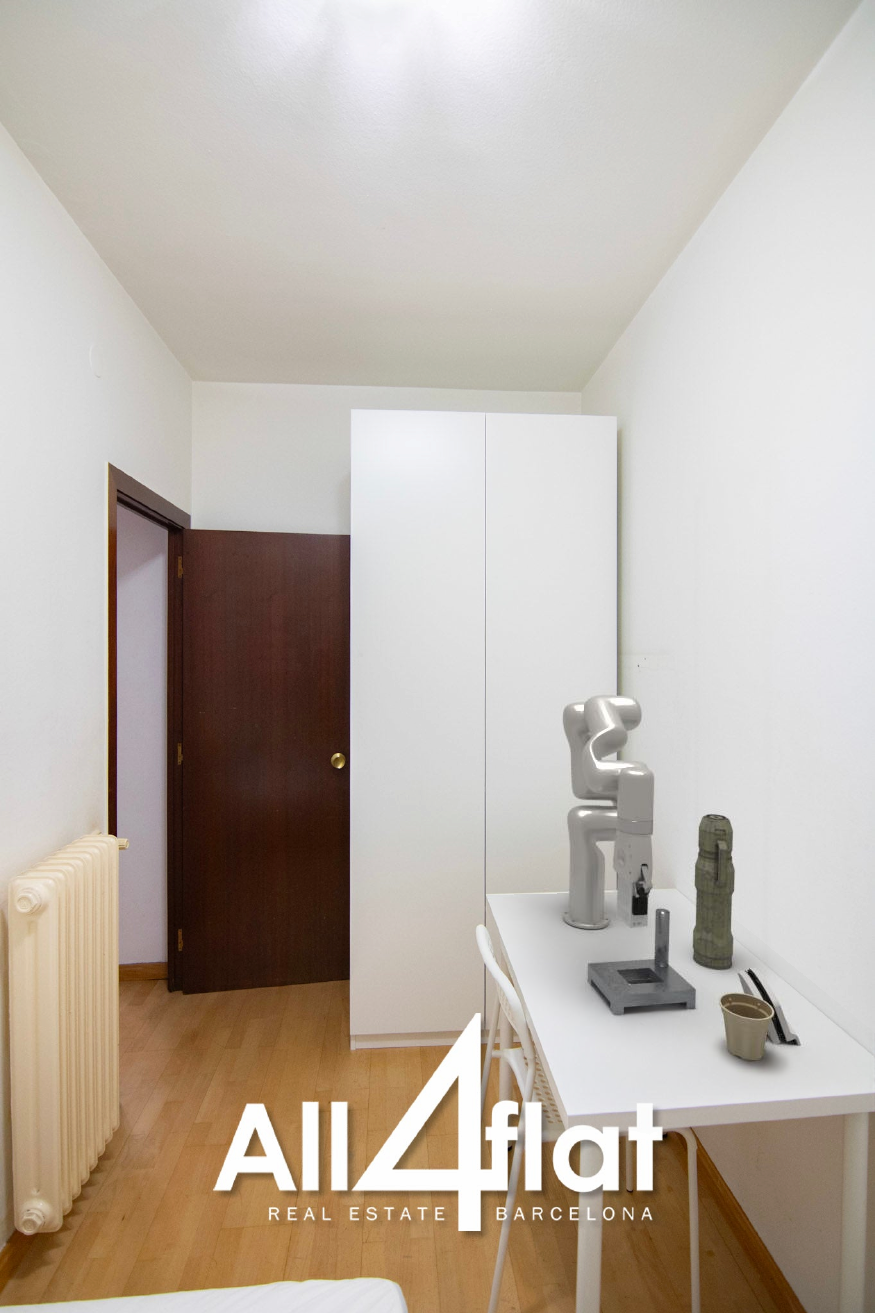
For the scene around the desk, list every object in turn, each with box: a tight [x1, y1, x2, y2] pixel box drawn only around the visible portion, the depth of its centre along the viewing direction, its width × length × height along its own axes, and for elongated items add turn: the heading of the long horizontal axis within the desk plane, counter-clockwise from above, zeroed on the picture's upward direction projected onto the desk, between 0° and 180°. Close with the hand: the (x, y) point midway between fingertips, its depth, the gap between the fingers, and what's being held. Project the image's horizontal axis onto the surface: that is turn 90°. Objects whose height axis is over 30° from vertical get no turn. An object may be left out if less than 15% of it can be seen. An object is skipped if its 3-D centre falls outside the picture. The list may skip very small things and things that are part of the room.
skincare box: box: [616, 873, 649, 929], centre depth 144 cm, size 6×4×12 cm
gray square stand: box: [586, 907, 697, 1016], centre depth 145 cm, size 14×18×16 cm
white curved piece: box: [737, 967, 802, 1046], centre depth 136 cm, size 17×5×10 cm, turn 172°
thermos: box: [692, 813, 736, 971], centre depth 161 cm, size 9×12×35 cm
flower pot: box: [718, 992, 774, 1061], centre depth 125 cm, size 9×9×9 cm
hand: (632, 907), depth 144 cm, fingers closed on skincare box, 6 cm apart
